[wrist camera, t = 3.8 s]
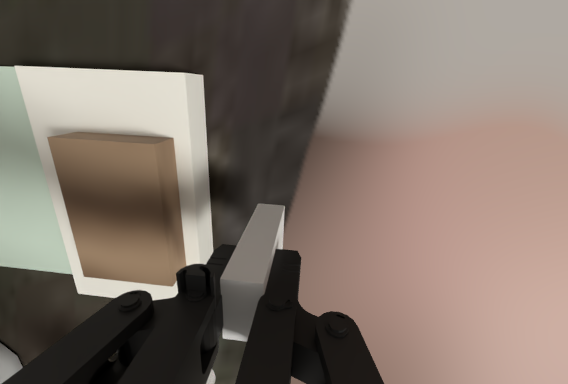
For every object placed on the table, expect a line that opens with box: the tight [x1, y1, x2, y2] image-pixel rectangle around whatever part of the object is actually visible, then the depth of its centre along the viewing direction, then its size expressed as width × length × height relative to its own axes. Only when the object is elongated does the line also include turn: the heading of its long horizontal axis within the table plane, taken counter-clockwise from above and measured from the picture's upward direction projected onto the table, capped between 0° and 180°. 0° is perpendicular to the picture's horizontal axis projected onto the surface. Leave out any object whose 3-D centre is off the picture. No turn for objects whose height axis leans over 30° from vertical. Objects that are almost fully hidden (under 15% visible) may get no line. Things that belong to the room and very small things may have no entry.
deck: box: [14, 66, 213, 300], centre depth 19 cm, size 16×10×2 cm, turn 178°
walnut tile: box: [47, 132, 186, 287], centre depth 17 cm, size 9×6×2 cm, turn 178°
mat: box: [0, 66, 72, 274], centre depth 21 cm, size 16×12×1 cm
